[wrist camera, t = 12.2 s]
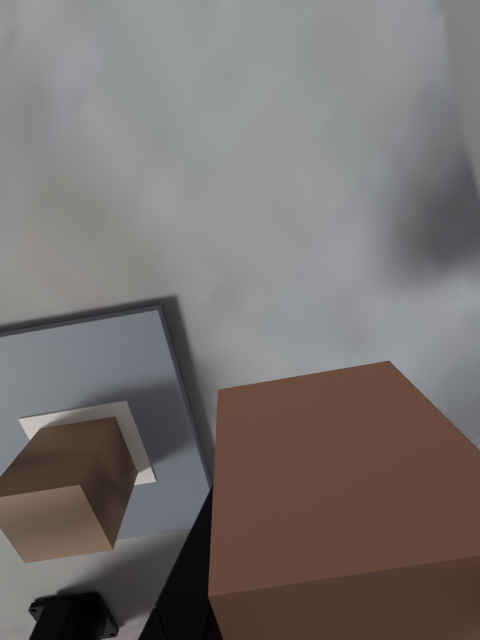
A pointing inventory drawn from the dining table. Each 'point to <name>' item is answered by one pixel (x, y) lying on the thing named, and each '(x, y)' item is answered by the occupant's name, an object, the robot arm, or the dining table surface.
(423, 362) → the dining table surface
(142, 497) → the board
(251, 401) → the terracotta cube
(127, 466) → the walnut cube
